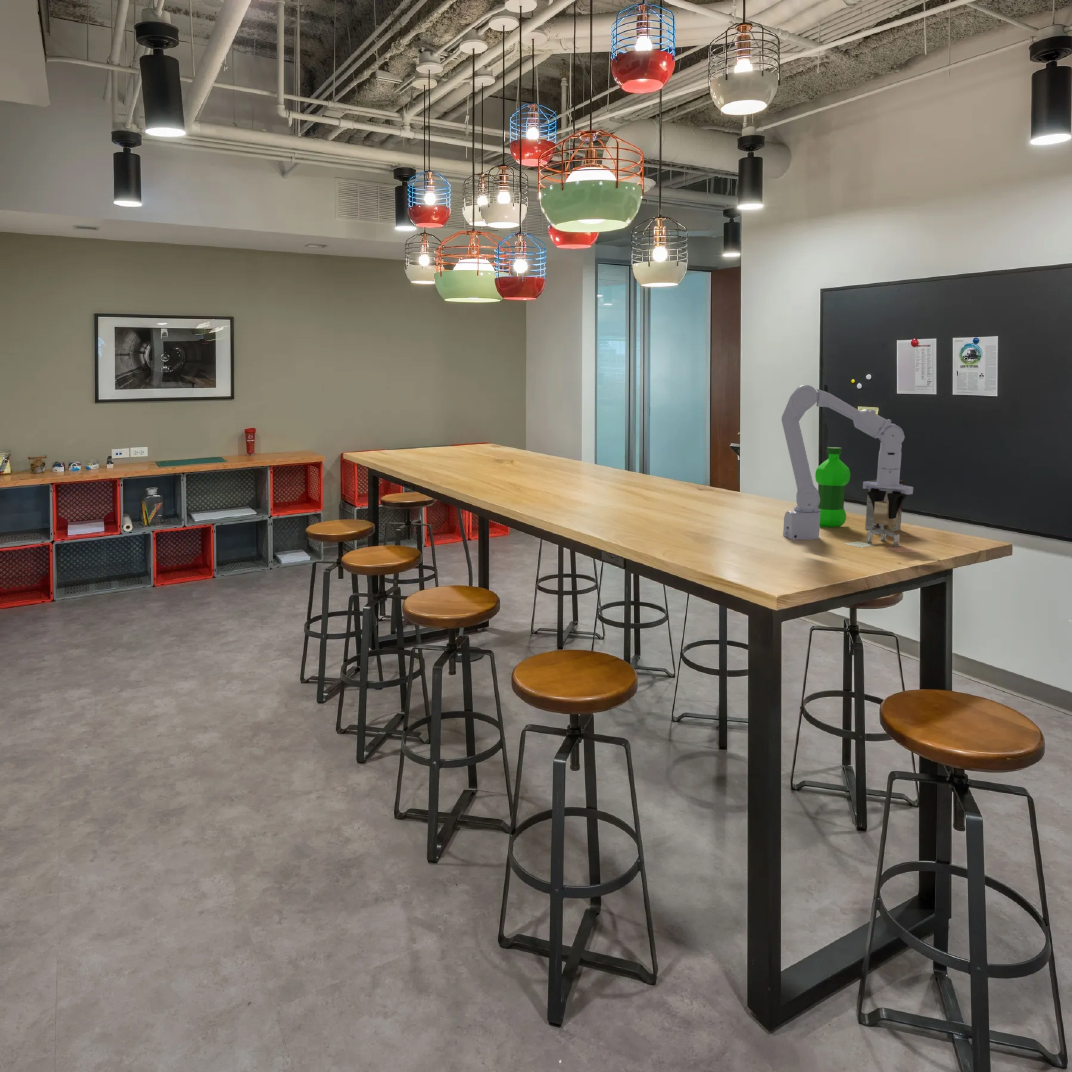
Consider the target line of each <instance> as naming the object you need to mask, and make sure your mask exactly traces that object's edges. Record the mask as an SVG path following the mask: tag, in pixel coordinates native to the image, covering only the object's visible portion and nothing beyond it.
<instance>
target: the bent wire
mask: <svg viewBox="0 0 1072 1072" xmlns="http://www.w3.org/2000/svg"><path fill="white" fill-rule="evenodd" d="M873 535H880V539H879V541H880V542H886V541H887V536H889V537H891V538H893V543H892V544H893V545H892V547H900V537H901V534H899V533H896V532H895V531H893V532H891V531H889V530H887V529H879V530H871V531H869V530H866V542H865V543H868V544H873Z"/></svg>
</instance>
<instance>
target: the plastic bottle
mask: <svg viewBox="0 0 1072 1072" xmlns="http://www.w3.org/2000/svg"><path fill="white" fill-rule="evenodd" d="M826 454H827V455H828V458H827V459H826V460H824V461H823V462H822V463H821V464H820V465H818V466H817V468H816V470H815V481H816V483H817V484H818V492H819V496H820V503H819V505H818V508H820V509H821V511H820V527H819V528H841V527H842V526H843V525H844V524H845V523H846V521H847V513H846V510H845V508H844V507H845V493H846V485H847V484H848V483H850V479H851V471H850V468H849V467H848V466H847V465H846V464H845V463H844V462H843V461H842V460H841V459H840V455H842V447H839V446H838V447H835V446H833V447H831V446H827V447H826Z"/></svg>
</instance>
